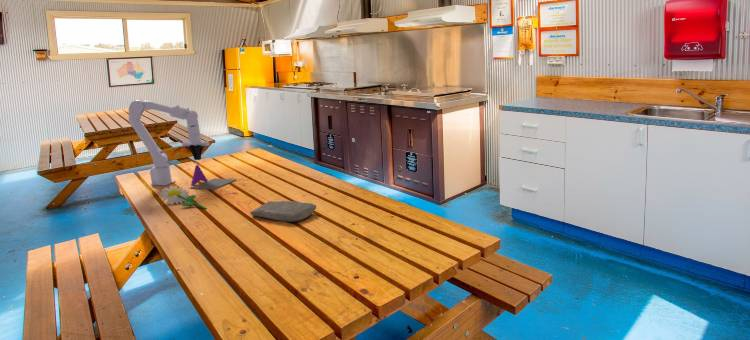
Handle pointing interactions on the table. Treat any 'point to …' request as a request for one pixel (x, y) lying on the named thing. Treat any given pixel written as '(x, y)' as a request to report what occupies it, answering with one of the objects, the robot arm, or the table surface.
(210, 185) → the mat
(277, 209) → the stone
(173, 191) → the decorative flower
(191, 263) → the table surface
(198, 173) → the arrowhead
